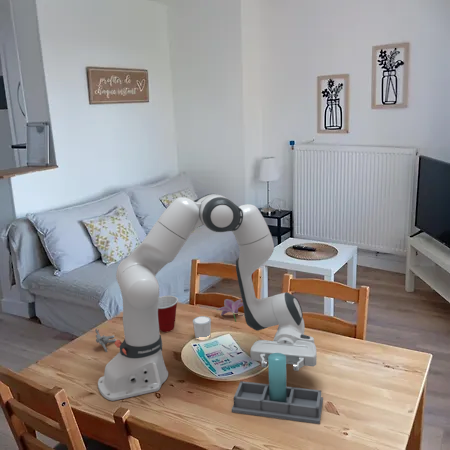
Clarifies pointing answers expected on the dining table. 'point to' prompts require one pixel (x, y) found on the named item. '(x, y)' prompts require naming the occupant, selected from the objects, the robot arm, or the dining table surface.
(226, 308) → the lily
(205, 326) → the shot glass
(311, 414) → the cup rack
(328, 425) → the dining table surface
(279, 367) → the teal cylinder
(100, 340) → the grey humanoid figurine
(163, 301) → the plastic cup
